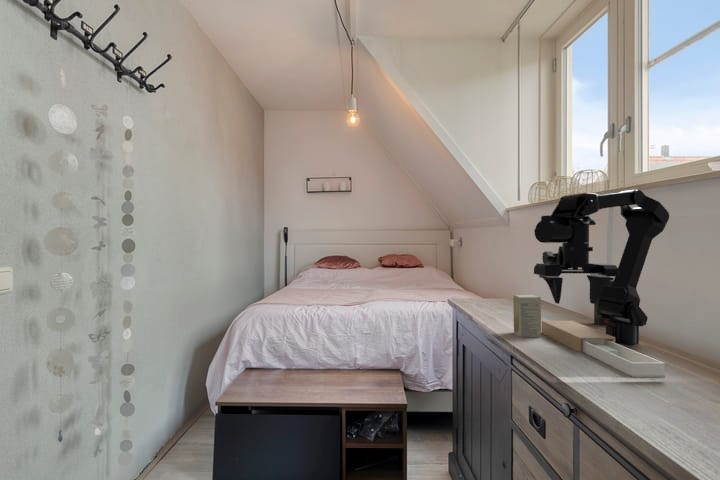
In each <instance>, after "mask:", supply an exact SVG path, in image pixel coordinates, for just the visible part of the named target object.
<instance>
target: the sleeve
mask: <svg viewBox="0 0 720 480" xmlns="http://www.w3.org/2000/svg"><path fill="white" fill-rule="evenodd" d="M541 334H543V335H545V336H547V337H549V338H551V339H553V340H555V341H557V342H559V343H561V344H562V345H564V346H567V347H569V348H571V349H572V350H575V351H577V352H579V353H581V352H582V351H581V339H607V340H609V341H612V342H614V343H615V337H613V336H610V335H608V334H606V332H602V331H599V330H597V329H594V328H592V327H589V326H586V325H584V324H581V323H579V322H576V321H574V320H541Z"/></svg>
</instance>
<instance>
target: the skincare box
mask: <svg viewBox="0 0 720 480" xmlns="http://www.w3.org/2000/svg"><path fill="white" fill-rule="evenodd" d="M512 297H513V298H512V299H513V301H512V302H513V333H514V334H515V335H516V336H518V338H519V337H520V338H542V302H541V301H542V299H541V296H538V295H536V294H513V295H512Z"/></svg>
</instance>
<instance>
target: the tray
mask: <svg viewBox="0 0 720 480" xmlns="http://www.w3.org/2000/svg"><path fill="white" fill-rule="evenodd" d="M593 344H604V345H606V346H608V347H610V348H613V349H615V350H617V351H618V356H617V355H615V354H612V353H610V352H608V351H606V350H604V349H601V348H599V347H597V346H595V345H593ZM581 352H582V353H585V354H587V355H588V356H590V357H593V358H594V359H597V360H598V361H601V362H603V363H604V364H607V365H609V366H611V367H612V368H614V369H616V370H618V371H621V372H622V373H624V374H626V375H629V376H628V377H629V378H630V379H657V378H658V379H665V377H666V375H665V373H666V362H664V361H660V360H659V359H655V358H653V357H650V356H648V355H646V354H644V353H641V352H638V351H636V350H634V349H632V348H628V347H626V346H625V345H623V344H619V343H614V342H612V341H609V340H607V339H581Z"/></svg>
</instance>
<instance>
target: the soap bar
mask: <svg viewBox="0 0 720 480" xmlns="http://www.w3.org/2000/svg"><path fill="white" fill-rule="evenodd" d="M593 345H595V346H597V347H599V348H601V349H604V350H606V351H608V352H610V353H612V354H615V355H617V356H618V351H617V350H615V349H613V348H610V347H608V346H606V345H604V344H593Z"/></svg>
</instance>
